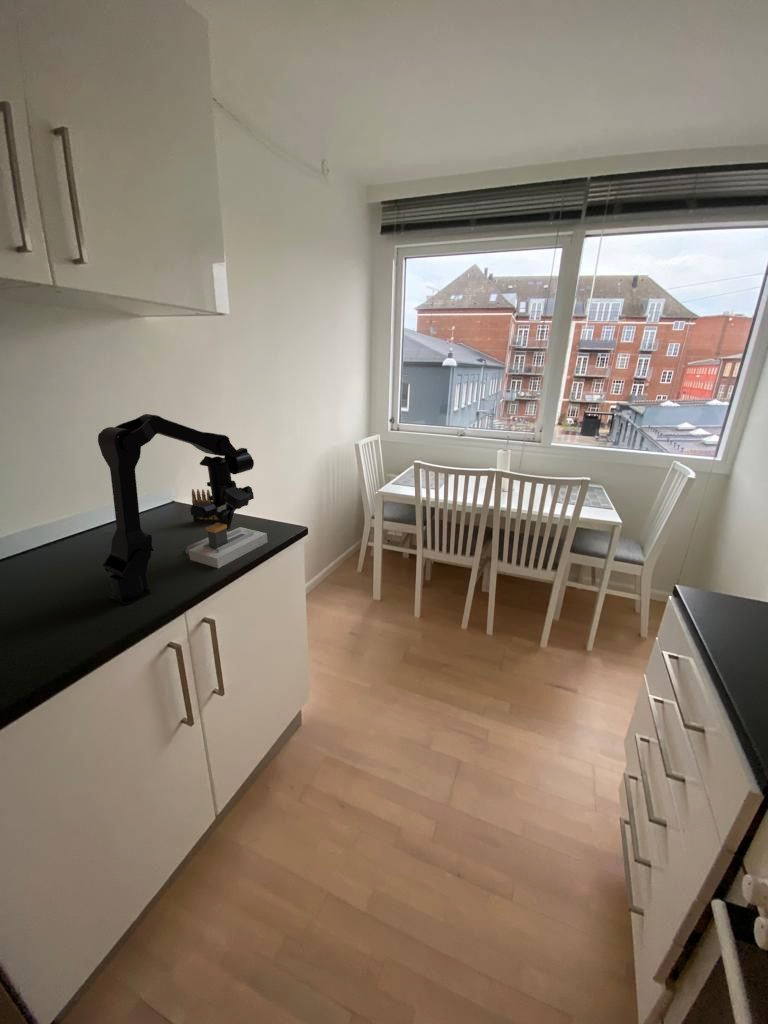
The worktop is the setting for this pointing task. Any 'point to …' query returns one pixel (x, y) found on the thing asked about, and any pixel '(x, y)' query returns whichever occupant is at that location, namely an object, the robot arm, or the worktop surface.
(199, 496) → the ammunition clip
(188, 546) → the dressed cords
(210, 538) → the breaker lever
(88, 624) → the worktop surface
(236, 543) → the breaker panel
